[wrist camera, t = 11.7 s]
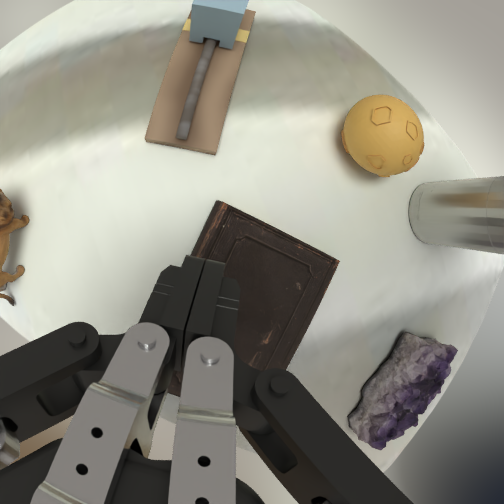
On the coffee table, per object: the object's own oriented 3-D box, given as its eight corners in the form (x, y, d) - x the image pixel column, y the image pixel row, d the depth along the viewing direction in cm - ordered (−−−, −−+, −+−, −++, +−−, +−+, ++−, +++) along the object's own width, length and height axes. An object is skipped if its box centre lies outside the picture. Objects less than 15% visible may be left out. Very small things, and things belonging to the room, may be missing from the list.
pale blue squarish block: (239, 26, 29) (252, -10, 22) (231, 49, 29) (243, 14, 22) (198, 18, 28) (203, -20, 21) (189, 40, 28) (192, 4, 21)
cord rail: (253, 17, 31) (262, -4, 26) (215, 155, 32) (220, 144, 28) (195, 5, 29) (198, -18, 24) (146, 141, 31) (139, 128, 26)
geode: (374, 435, 43) (398, 468, 33) (329, 416, 42) (350, 453, 32) (443, 344, 43) (479, 363, 33) (406, 313, 42) (444, 331, 32)
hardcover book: (331, 258, 37) (340, 261, 35) (253, 409, 38) (257, 419, 35) (215, 200, 34) (217, 199, 31) (140, 373, 34) (138, 382, 32)
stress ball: (328, 101, 35) (370, 72, 25) (388, 116, 37) (436, 97, 27) (329, 175, 36) (376, 163, 26) (391, 184, 38) (443, 178, 28)
